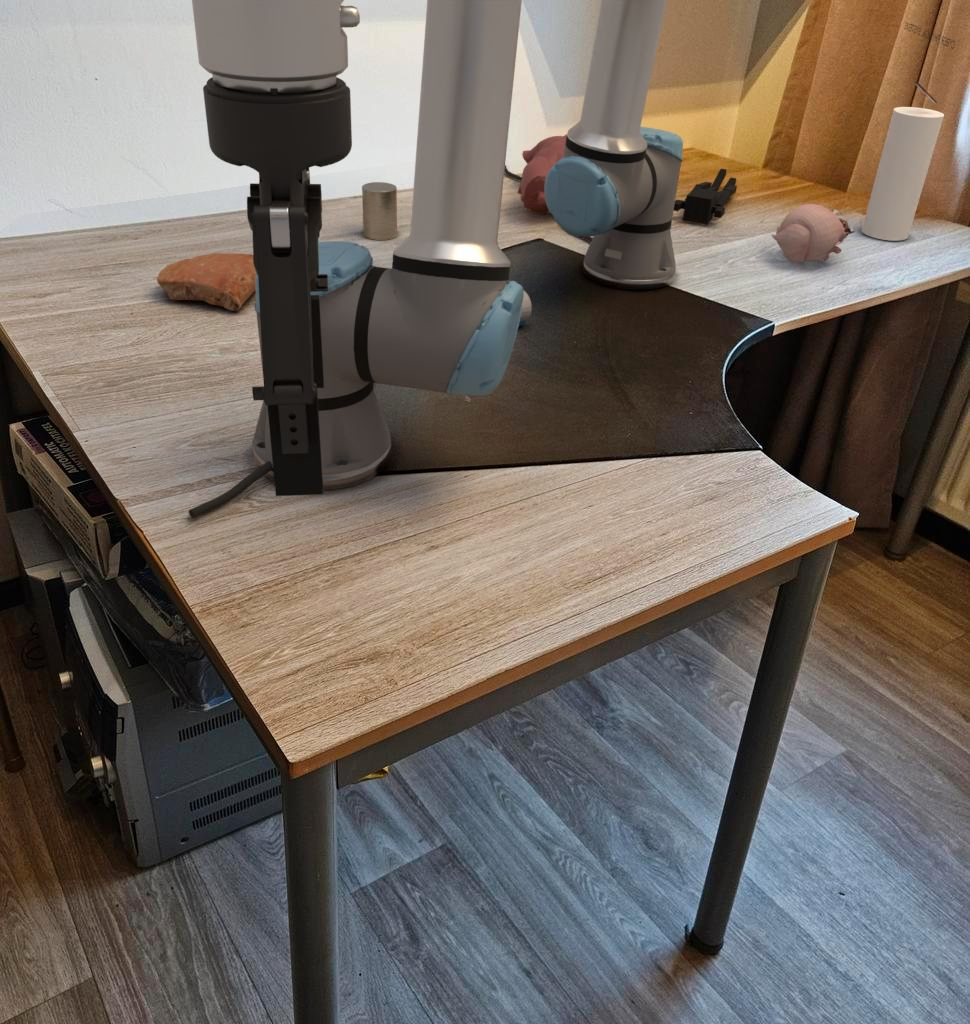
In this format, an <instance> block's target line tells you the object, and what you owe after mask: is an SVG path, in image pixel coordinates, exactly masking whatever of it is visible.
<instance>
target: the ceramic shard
mask: <svg viewBox="0 0 970 1024" xmlns="http://www.w3.org/2000/svg"><path fill="white" fill-rule="evenodd" d="M255 277H256V270H255V267H254V263H253V254H251V253H210V254H203V255H196V256H194V257H191V258H184V259H181V260H178V261H176V262H173V263H169V264H167V265H166V266H165V267H164V268H163V269H162V270H160V272H159V273H158V275H157V277H156V282H157V284H158V285H159V286H160V287H161V288H162V289H163V290H164V291H165V293H166V295H167V296H168V297H169V299H170V300H171V301H204V302H206V303H207V304H209V305H214V306H218V307H219V306H220V307H222V308H224V309H226V310H228V311H231V312H232V311H233V312H236V311H239V310H240V309H241V308H242V307H243V305H244V304H245V302H246V301H247V300H248V299H249V298H250V297H251V296H252V294H253V293H255V292H256V289H255Z"/></svg>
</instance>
